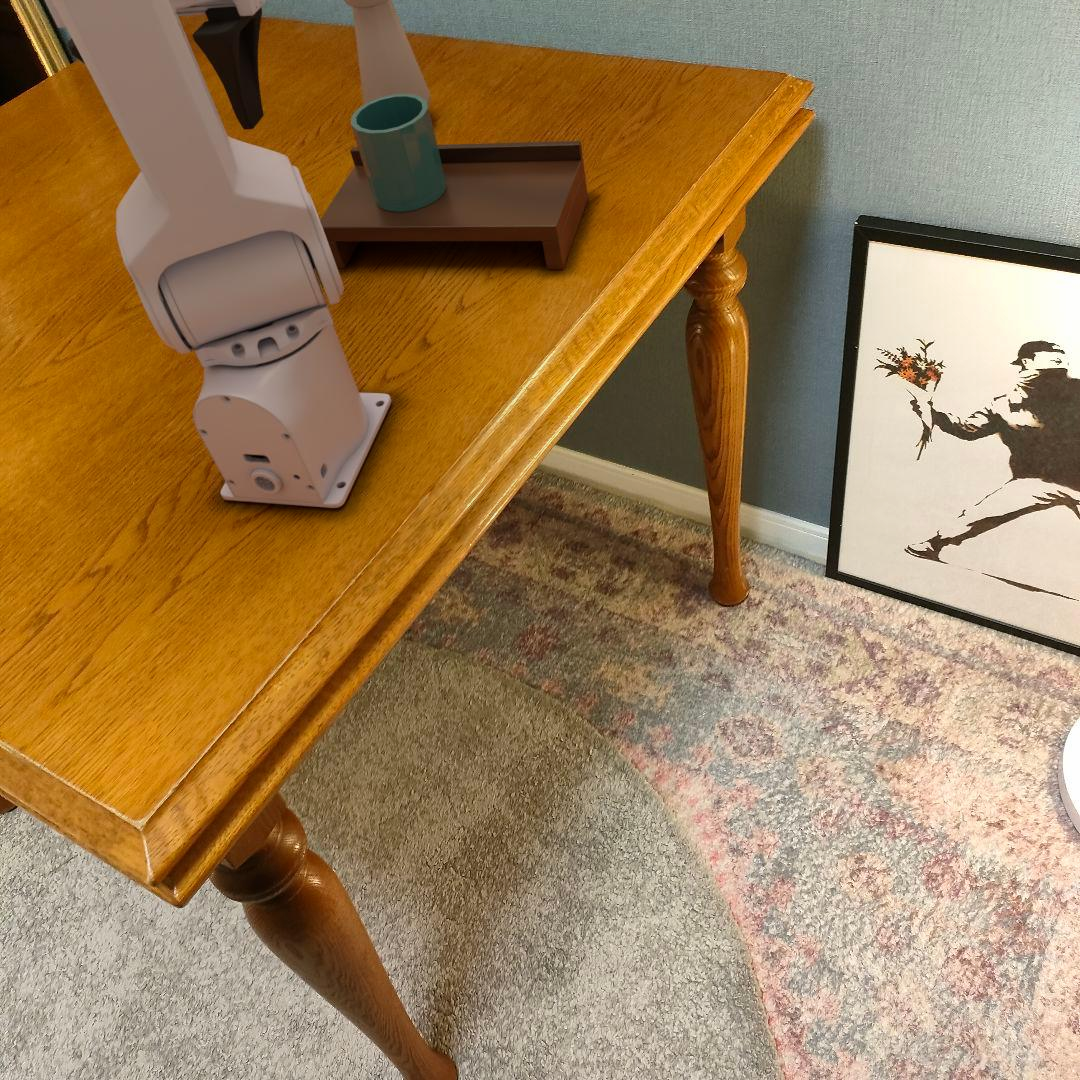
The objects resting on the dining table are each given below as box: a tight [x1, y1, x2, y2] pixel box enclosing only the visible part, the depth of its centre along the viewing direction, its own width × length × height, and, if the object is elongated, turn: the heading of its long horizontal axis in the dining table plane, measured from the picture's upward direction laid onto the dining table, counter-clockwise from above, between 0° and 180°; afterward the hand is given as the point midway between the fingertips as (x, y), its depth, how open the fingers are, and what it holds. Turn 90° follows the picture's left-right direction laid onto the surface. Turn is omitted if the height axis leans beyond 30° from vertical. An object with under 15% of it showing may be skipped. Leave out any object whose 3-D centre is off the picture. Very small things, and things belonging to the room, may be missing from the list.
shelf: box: [319, 140, 589, 271], centre depth 73 cm, size 9×18×5 cm, turn 77°
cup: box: [350, 94, 447, 212], centre depth 71 cm, size 5×5×6 cm
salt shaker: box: [343, 0, 432, 109], centre depth 83 cm, size 6×6×13 cm
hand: (205, 124), depth 70 cm, fingers open, 7 cm apart
